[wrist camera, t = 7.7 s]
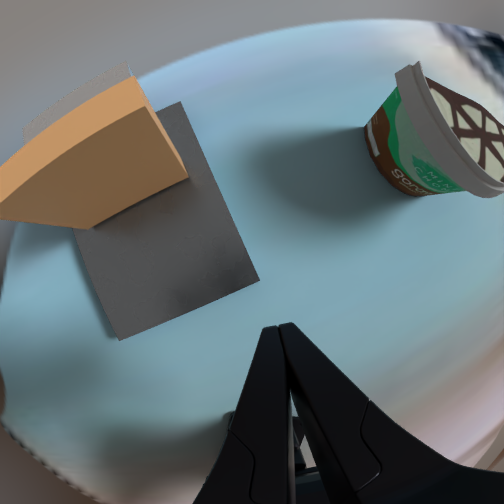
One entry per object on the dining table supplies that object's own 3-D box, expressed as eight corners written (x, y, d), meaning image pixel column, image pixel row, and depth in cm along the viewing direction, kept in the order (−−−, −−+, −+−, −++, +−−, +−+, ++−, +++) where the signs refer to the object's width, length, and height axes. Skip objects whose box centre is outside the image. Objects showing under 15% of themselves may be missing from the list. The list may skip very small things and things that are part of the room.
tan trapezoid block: (188, 177, 18) (144, 105, 8) (87, 229, 17) (-15, 217, 7) (158, 103, 17) (113, 10, 7) (66, 154, 17) (-20, 106, 7)
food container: (343, 192, 20) (421, 155, 10) (348, 121, 20) (411, 56, 10) (455, 222, 21) (537, 215, 11) (455, 162, 21) (528, 136, 11)
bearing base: (258, 277, 20) (276, 300, 12) (126, 335, 19) (73, 380, 11) (183, 110, 19) (160, 43, 11) (65, 173, 19) (0, 144, 10)
